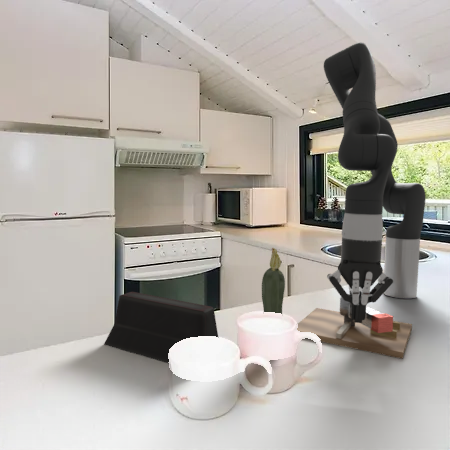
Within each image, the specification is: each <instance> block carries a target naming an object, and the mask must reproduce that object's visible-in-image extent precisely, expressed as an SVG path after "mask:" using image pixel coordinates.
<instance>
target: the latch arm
mask: <svg viewBox="0 0 450 450" xmlns="http://www.w3.org/2000/svg"><path fill="white" fill-rule="evenodd" d="M339 299H340V300H339V312H340V314H341V315H343V316H346V317H349V318H350V315H349V312H350V302H348V301H345V300H344V299H343V298H342V297H341V296H340V298H339ZM393 321H394V316H393V315H391V314H389V313H386V312H385V313H383V312H381V311H378V310H377V309H375V308H372V307H369V306H367V305H366V317H365V320H362V323H361V324H363V325H365V326H366V327H368V328H370V329H371V330H373V331H375V332H377V333H383V332H392V331H393Z"/></svg>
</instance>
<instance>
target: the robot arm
mask: <svg viewBox="0 0 450 450" xmlns="http://www.w3.org/2000/svg"><path fill="white" fill-rule="evenodd" d="M323 70H324V74H325V76H326V80H327V82H328V83H329V85H330V88H331V89H332V92H333V93H334V95H335V97H336V99H337V101H338V103H339V104H340V106H341V108H342V121H343V136H342V138H341V141H340V144H339V146H338V147H339V148H338V150H337V151H338V152H337V160H338V163H339V165H340V166H341V167H342V168H343V169H345V170H346V171H353V172H354V171H355V172H356V171H360V172H363V171H364V172H367V171H368V172H369V171H370V173H371V177H370V178H369V179H367V180H366V181H362V182H354V183H351V184H349V185H347V187H346V190H345V201H344V215H343V221H342V228H341V249H340V251H341V252H340V262H339V264H338V266H337V270H336V271H334V272H332V273H328V274H327V276H326V278H327V279H328V280H329V282H330V284H331V285H332V286H333V288H334V289H335V290H336V292H337V293H338V294H339V295H340V298H341V297H342V298H343V299H344V300H345V301H348V302H350V312H349V315H350V318H351V319H352V320H353V322H354V323H362V320H365V317H366V306H367V305H368V304H370V303H376V302H377V301H378V300H379V299H380V298H381V297H382V296H383V294H384V295H386V296H388V297H393V298H396V299H414V298H415V299H416V298H417V297H418V295H417V294H418V282H419V281H418V280H419V266H420V265H419V264H420V246H421V245H420V244H421V234H422V231H423V227H424V217H425V216H424V215H425V207H426V191H425V188H424V186H423V185H422V184H421V183H417V182H397V181H396V180H395V178H394V175H393V172H392V171H393V170H392V168H393V165H394V162H395V158H396V156H397V152H398V147H399V146H398V144H399V143H398V140H397V136H396V135H395V132H394V130H393V128H392V127H393V126H392V125H391V123H390V121H389V120H388V119H387V118H386V117H385V116H383V115H382V114H380V113H379V112H378V108H377V103H376V101H377V100H376V89H377V88H376V87H377V86H376V84H377V81H376V80H377V79H376V78H377V75H376V74H377V73H376V71H377V70H376V64H375V61H374V58H373V54H372V52H371V50H370V48H369V47H368V46H367V44H366V43H364V42H356V43H353V44H352V45H350V46H348V47H345V48H343V49H342V50H340V51H338V52H336V53H334V54H333V55H330V56H329V57H327V58H326V59H325V60H324V61H323ZM383 209H384V210H385V211H386V212H387V213H389V214H392V215H393V214H394V215H403V218H402V221H400V222H399V223H397V224H394V225H391V226H388V227H386V230H385V245H384V246H385V248H384V249H385V251H384V267H382V264H381V261H382V249H383V248H382V247H383V245H382V244H383V234H384V233H383V229H384V223H383V222H384V221H383ZM341 277H342V278H341ZM342 279H343V280H344V281H345V283H346V284H347V285H348V293H347V291H346V290H345V289H344V287H343V286H342V285H341V281H342ZM376 281H377V283H376V285H375V286H374V287H373V288H372V289H371V287H372V286H373V285H374V284H375V282H376Z"/></svg>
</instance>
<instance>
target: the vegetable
mask: <svg viewBox="0 0 450 450" xmlns="http://www.w3.org/2000/svg"><path fill="white" fill-rule="evenodd" d="M271 250H272V251H271V257H270V260H269V268H267V269H266V271H265V272H264V273H263V275H262V279H261V280H262V281H261V300H262V305H263V306H262V307H263V313H264V312H275V313H281V314H282V315H283V304H284V296H285V288H286V280H285V279H286V278H285V275H284V273H283V272H282V271H281V270H280V267H281V266H282V261H281V257H280V255H279V253H278V250H277V249H276V248H274V247H272V248H271Z"/></svg>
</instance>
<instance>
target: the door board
mask: <svg viewBox="0 0 450 450" xmlns="http://www.w3.org/2000/svg"><path fill="white" fill-rule="evenodd" d="M297 324H298V328H297V330H298V331H300V332H311V333H314V334H316V335H317V336H318V337H319V338H320V339H321V341H322V342H321V341H320V342H321V343H327V344H331V345H336V346H339V347H346V348H351V349H355V350H360V351H364V352H369V353H374V354H379V355H383V356H388V357H393V358H397V359H401V360H402V359H403V358H404V355H405V352H406V349H407V347H408V343H409V339H410V336H411V334H412V330H413V324H412V323H408V322H401V321H396V320H393V331H392V332H383V333H377V332H375V331H373V330H371V329H370V328H368V327H366V326H365V325H363V324H361V323H354V322H353V320H352V319H351V318H349V317H346V316H343V315H341V314H340V311H337V310H333V309H332V310H331V309H325V308H319V307H316V308H315V309H313V310H312V311H311V312H310V313H308V314H307V315H306V316H305V317H304V318H303V319H301V320H300V321H299V322H298V323H297Z"/></svg>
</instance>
